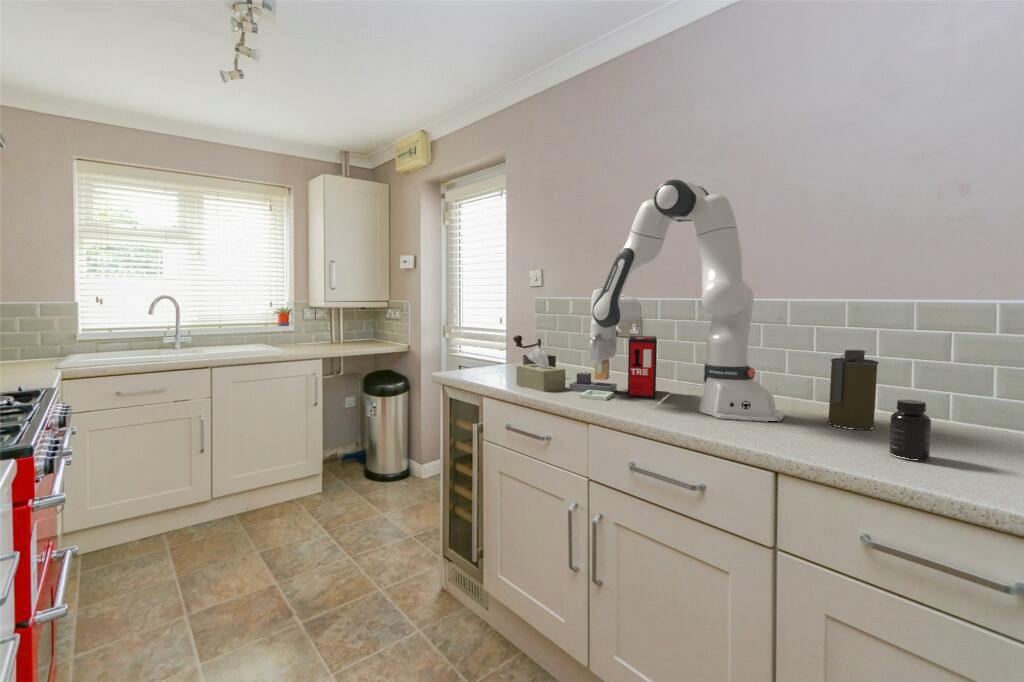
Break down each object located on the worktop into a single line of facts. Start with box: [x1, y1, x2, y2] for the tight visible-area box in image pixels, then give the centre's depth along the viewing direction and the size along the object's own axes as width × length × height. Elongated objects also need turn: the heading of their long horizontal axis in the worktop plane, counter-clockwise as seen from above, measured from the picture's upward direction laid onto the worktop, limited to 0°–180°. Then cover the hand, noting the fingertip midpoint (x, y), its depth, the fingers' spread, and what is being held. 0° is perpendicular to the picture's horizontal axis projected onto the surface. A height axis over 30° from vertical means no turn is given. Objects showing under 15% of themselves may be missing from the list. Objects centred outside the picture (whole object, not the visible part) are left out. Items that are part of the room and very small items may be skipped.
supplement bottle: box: [888, 399, 932, 461], centre depth 109 cm, size 7×7×12 cm
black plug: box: [576, 371, 592, 385], centre depth 185 cm, size 4×4×6 cm
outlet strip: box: [568, 380, 618, 393], centre depth 183 cm, size 15×8×3 cm, turn 62°
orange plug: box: [594, 361, 610, 381], centre depth 181 cm, size 4×4×6 cm
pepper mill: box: [512, 334, 557, 368], centre depth 216 cm, size 16×11×18 cm
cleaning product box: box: [627, 335, 658, 400], centre depth 177 cm, size 16×9×20 cm, turn 165°
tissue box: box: [516, 346, 566, 393], centre depth 191 cm, size 19×10×16 cm, turn 32°
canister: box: [827, 349, 880, 429], centre depth 135 cm, size 11×10×20 cm
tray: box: [579, 390, 615, 401], centre depth 172 cm, size 9×9×2 cm
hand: (602, 372), depth 181 cm, fingers closed on orange plug, 4 cm apart
